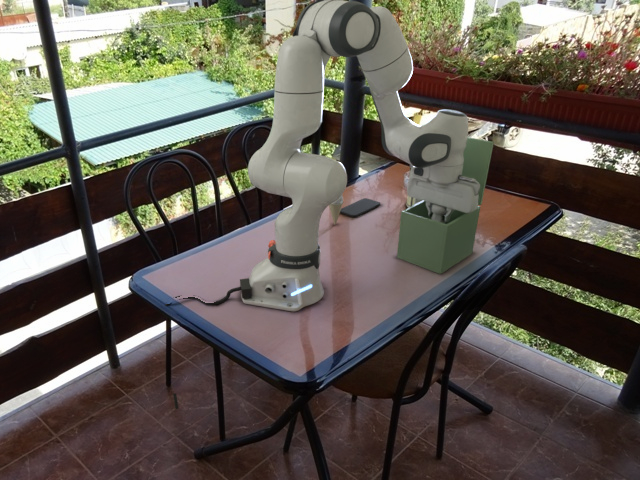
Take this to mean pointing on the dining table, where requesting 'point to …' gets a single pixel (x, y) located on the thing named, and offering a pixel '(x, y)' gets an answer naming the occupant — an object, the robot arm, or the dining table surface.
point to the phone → (359, 207)
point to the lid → (477, 162)
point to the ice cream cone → (336, 208)
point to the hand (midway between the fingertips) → (438, 218)
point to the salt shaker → (438, 212)
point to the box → (436, 238)
